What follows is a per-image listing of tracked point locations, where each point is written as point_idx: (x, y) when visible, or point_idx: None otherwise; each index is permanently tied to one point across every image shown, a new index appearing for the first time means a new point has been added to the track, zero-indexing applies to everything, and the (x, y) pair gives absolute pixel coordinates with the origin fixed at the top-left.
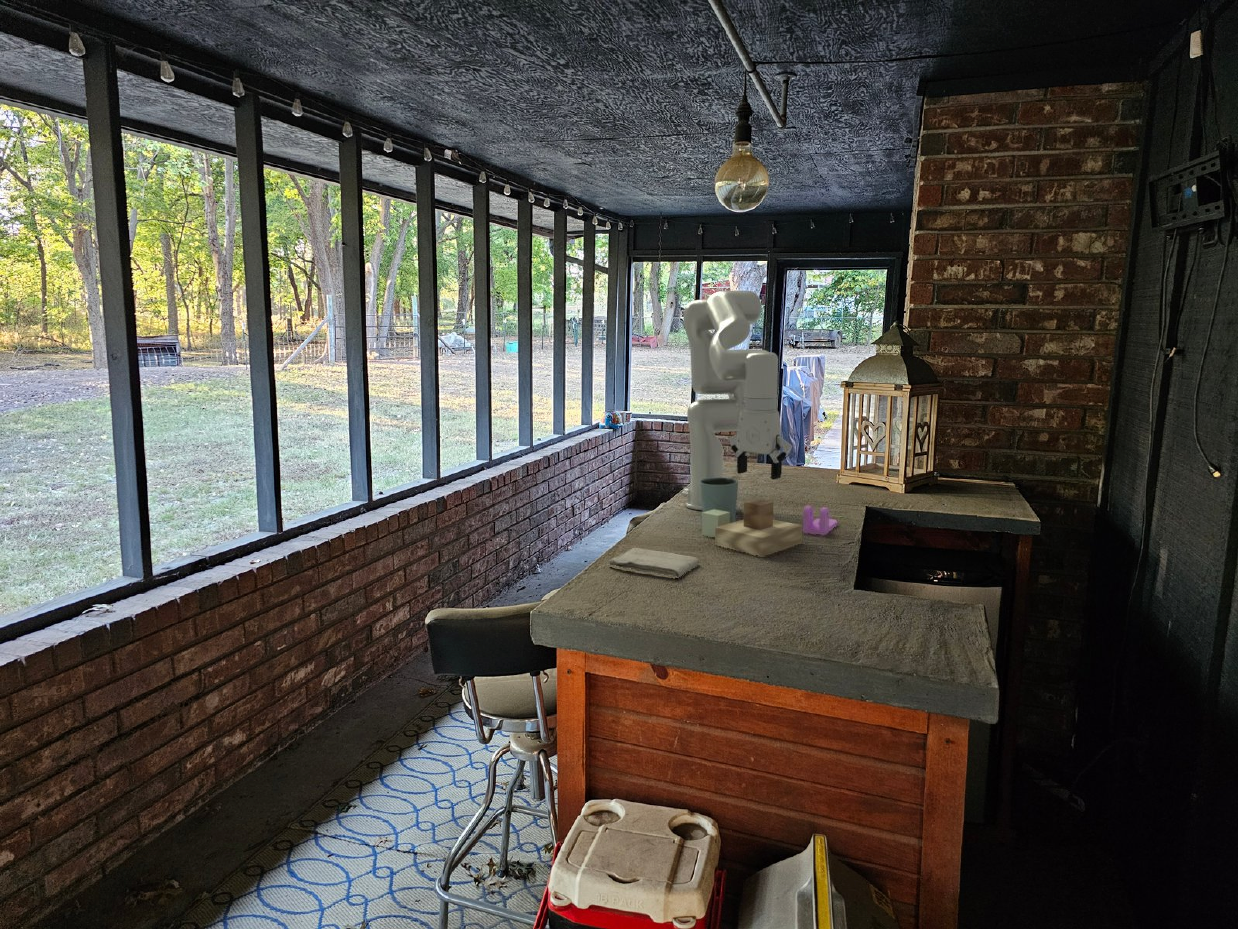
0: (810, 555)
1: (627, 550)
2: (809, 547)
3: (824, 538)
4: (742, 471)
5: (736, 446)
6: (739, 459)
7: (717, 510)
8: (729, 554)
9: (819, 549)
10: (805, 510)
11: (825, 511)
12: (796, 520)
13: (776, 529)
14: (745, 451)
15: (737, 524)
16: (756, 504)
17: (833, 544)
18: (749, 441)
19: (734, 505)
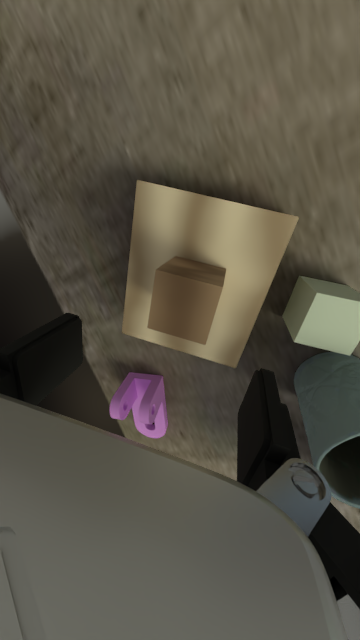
0: (90, 252)
1: None
2: (115, 299)
3: (121, 357)
4: (249, 389)
5: (354, 611)
6: (270, 433)
7: (335, 346)
8: (226, 158)
9: (97, 295)
10: (146, 405)
11: (111, 403)
12: (200, 434)
13: (147, 278)
14: (185, 460)
15: (247, 279)
16: (173, 274)
17: (95, 332)
18: (34, 632)
19: (303, 407)
